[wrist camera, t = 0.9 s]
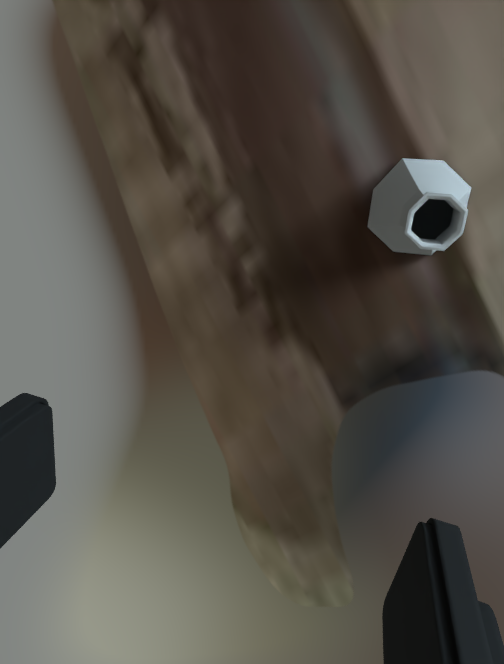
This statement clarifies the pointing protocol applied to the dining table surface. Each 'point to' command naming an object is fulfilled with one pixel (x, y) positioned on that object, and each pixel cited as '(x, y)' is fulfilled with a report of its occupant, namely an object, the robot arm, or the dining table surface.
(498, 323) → the dining table surface
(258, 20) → the dining table surface
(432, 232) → the flask
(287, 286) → the dining table surface
